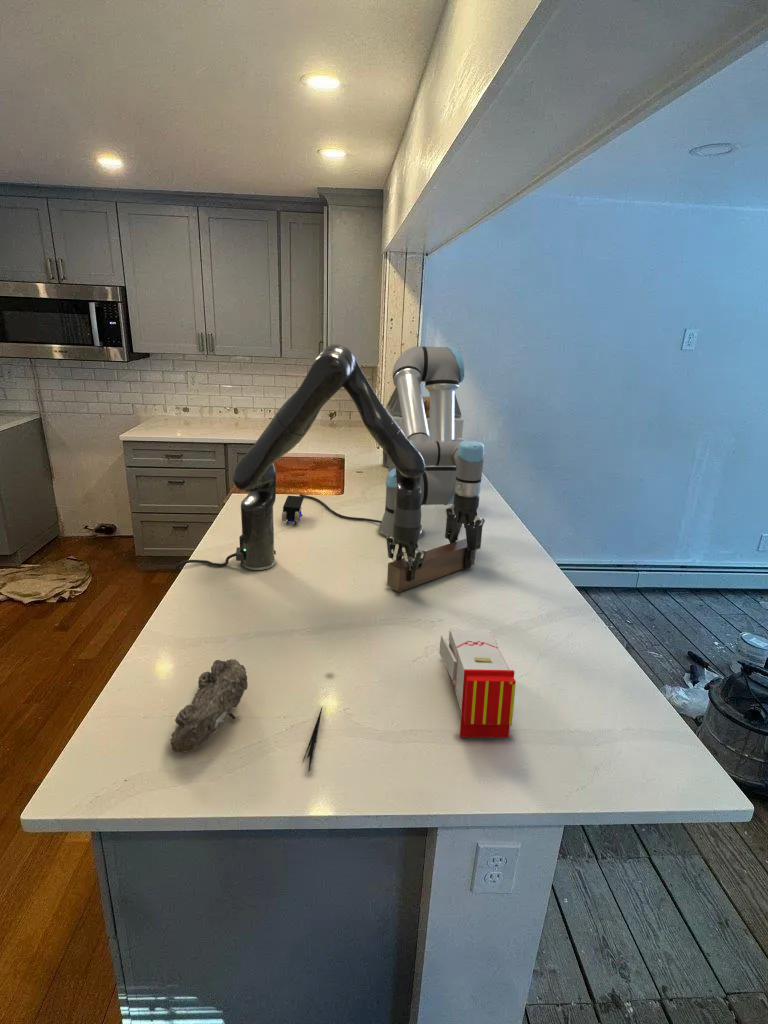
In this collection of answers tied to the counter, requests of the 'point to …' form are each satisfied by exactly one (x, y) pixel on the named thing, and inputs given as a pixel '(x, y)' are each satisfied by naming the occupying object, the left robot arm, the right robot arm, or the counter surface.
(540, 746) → the counter surface
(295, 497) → the figurine character
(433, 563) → the walnut beam
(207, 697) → the fossil
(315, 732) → the feather
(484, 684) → the toy
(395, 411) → the grey slatted crate
